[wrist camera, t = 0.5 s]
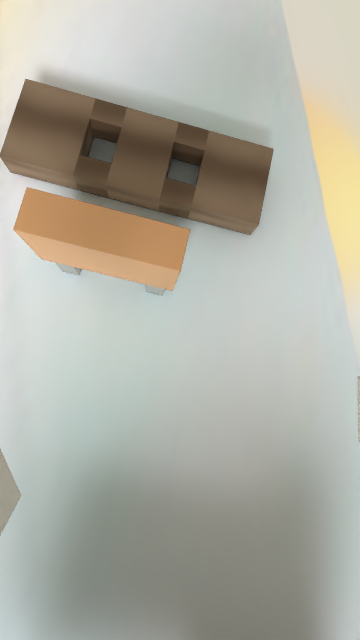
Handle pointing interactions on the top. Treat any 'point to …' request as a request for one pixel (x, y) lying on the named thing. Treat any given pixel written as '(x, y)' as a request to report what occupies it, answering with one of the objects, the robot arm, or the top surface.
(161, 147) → the rail
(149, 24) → the top surface
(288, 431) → the top surface
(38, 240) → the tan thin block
